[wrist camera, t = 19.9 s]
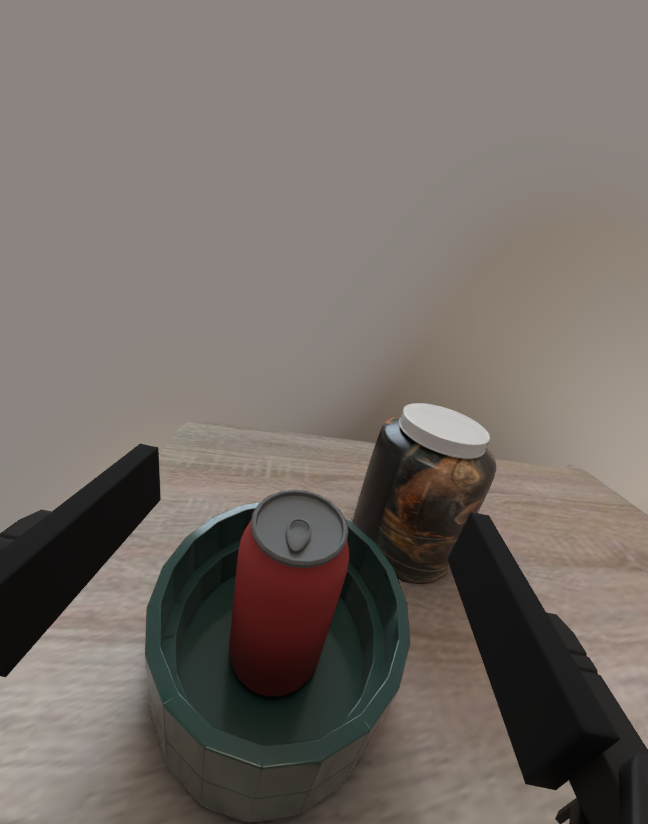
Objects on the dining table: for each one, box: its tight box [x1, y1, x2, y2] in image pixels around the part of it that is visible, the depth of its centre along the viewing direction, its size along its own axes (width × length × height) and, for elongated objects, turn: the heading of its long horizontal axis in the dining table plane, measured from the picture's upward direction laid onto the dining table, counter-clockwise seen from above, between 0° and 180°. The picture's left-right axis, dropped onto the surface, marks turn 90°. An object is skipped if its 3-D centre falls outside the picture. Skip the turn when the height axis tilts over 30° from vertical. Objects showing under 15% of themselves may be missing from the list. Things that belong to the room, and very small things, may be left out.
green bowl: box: [145, 502, 410, 823], centre depth 21 cm, size 16×16×7 cm
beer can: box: [229, 490, 349, 696], centre depth 20 cm, size 7×7×12 cm
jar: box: [353, 403, 496, 583], centre depth 32 cm, size 12×12×15 cm
